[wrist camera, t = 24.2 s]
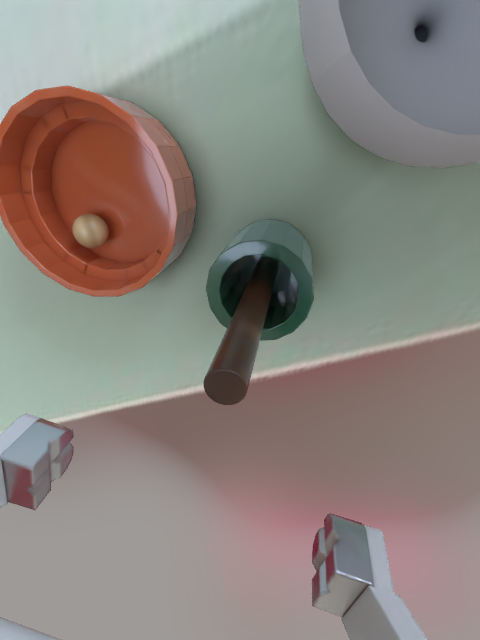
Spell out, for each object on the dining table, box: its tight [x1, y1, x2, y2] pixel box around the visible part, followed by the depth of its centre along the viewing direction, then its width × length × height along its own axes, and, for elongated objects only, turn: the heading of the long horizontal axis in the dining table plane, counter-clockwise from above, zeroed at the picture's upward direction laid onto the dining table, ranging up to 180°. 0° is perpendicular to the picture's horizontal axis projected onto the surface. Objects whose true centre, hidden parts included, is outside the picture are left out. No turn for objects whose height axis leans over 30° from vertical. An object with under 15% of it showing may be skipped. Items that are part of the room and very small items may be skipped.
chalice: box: [299, 0, 480, 168], centre depth 17 cm, size 14×14×15 cm
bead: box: [72, 214, 109, 248], centre depth 31 cm, size 3×3×3 cm
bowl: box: [0, 86, 196, 296], centre depth 29 cm, size 15×15×6 cm
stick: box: [204, 257, 278, 405], centre depth 23 cm, size 2×2×18 cm
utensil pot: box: [206, 219, 314, 341], centre depth 28 cm, size 8×8×8 cm
